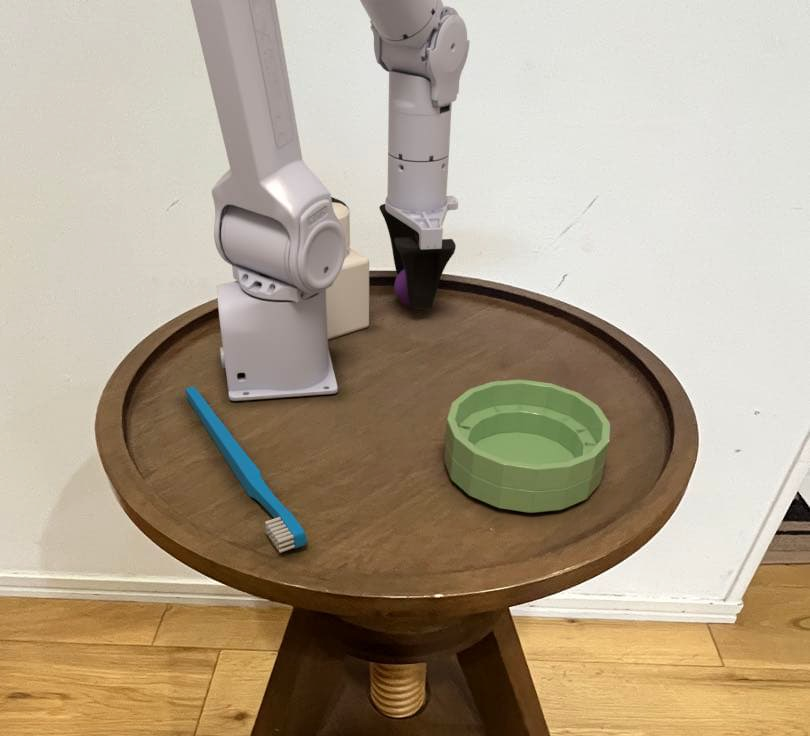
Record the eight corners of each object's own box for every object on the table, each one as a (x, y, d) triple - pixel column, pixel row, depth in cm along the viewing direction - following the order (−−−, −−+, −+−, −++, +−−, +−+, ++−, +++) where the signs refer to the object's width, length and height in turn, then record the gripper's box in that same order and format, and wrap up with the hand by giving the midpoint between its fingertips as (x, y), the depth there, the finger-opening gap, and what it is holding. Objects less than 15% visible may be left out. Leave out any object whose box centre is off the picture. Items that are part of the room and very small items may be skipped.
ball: (397, 314, 87) (398, 277, 85) (391, 297, 90) (391, 260, 88) (435, 312, 88) (437, 275, 85) (427, 295, 91) (429, 259, 88)
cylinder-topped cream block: (272, 318, 86) (262, 197, 78) (331, 301, 89) (328, 183, 81) (309, 346, 82) (303, 222, 74) (370, 327, 85) (370, 206, 77)
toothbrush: (200, 400, 74) (178, 406, 74) (196, 381, 73) (174, 387, 72) (307, 549, 59) (281, 558, 58) (305, 527, 58) (278, 537, 57)
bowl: (465, 524, 62) (470, 475, 59) (430, 432, 71) (433, 385, 68) (623, 509, 64) (635, 460, 61) (569, 421, 73) (578, 374, 70)
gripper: (479, 176, 75) (467, 320, 83) (443, 129, 85) (436, 260, 94) (400, 179, 73) (397, 324, 82) (374, 131, 84) (373, 263, 93)
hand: (413, 290), depth 88 cm, fingers open, 7 cm apart
